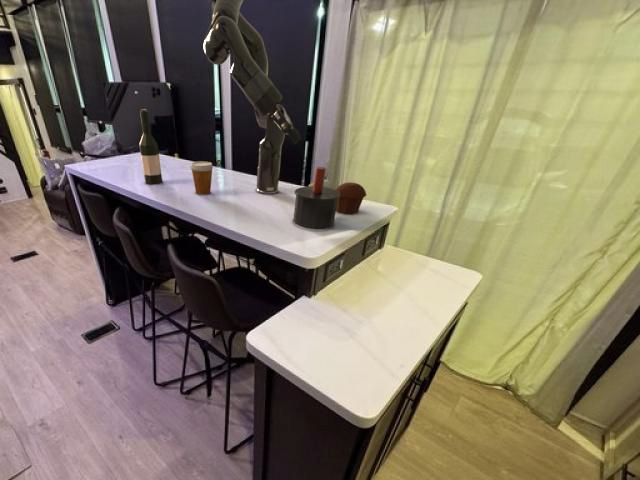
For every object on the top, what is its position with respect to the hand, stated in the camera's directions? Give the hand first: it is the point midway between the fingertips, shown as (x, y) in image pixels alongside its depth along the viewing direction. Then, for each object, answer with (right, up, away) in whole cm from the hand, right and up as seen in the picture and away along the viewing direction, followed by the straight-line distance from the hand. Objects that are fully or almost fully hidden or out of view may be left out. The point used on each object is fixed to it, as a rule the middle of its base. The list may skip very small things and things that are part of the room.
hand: (297, 139), depth 94 cm
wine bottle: (-59, +8, +55) cm, 81 cm away
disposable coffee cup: (-34, -2, +42) cm, 54 cm away
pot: (+8, -22, +14) cm, 27 cm away
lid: (+8, -14, +8) cm, 18 cm away
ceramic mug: (+16, -7, +35) cm, 39 cm away
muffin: (+23, -14, +25) cm, 37 cm away
